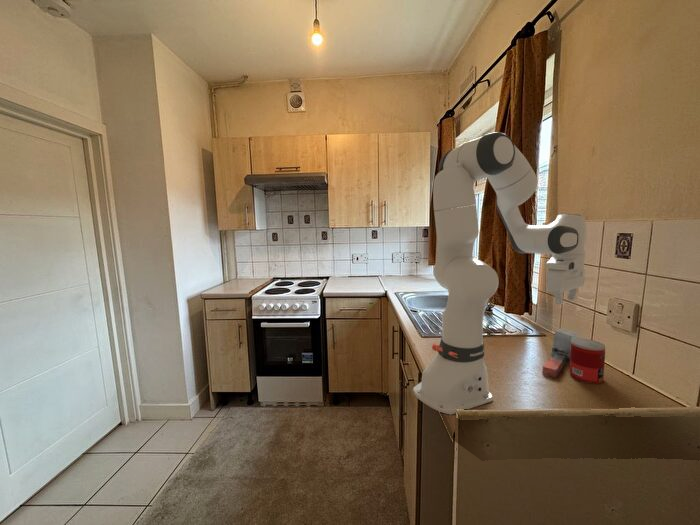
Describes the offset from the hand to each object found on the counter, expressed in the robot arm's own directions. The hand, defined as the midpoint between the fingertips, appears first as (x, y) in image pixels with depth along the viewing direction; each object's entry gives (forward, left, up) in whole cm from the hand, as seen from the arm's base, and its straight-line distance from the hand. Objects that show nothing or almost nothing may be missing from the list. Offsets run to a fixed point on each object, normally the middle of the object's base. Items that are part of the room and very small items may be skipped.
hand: (565, 301), depth 98 cm
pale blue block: (0, 0, -17) cm, 17 cm away
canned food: (-10, -10, -20) cm, 25 cm away
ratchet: (-7, -1, -20) cm, 21 cm away
